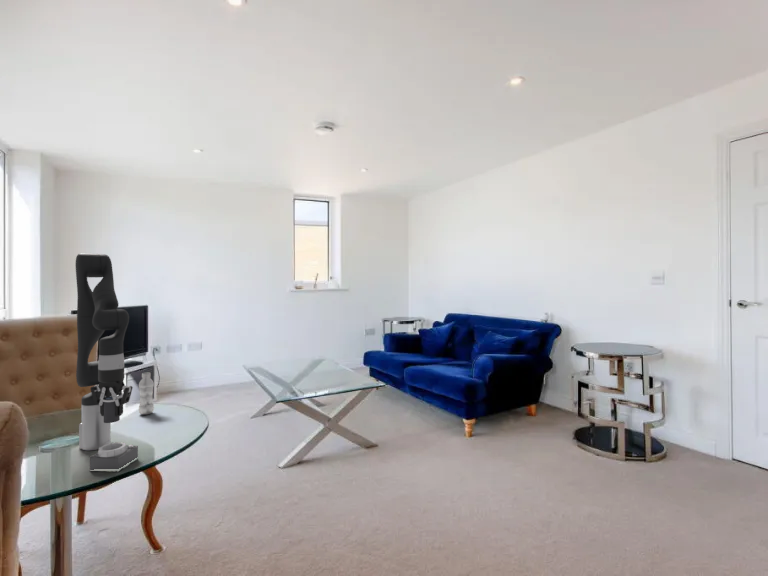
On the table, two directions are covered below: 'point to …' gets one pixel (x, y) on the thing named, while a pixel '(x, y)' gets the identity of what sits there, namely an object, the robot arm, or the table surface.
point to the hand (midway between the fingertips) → (111, 415)
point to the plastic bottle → (146, 394)
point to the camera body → (113, 456)
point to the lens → (110, 410)
